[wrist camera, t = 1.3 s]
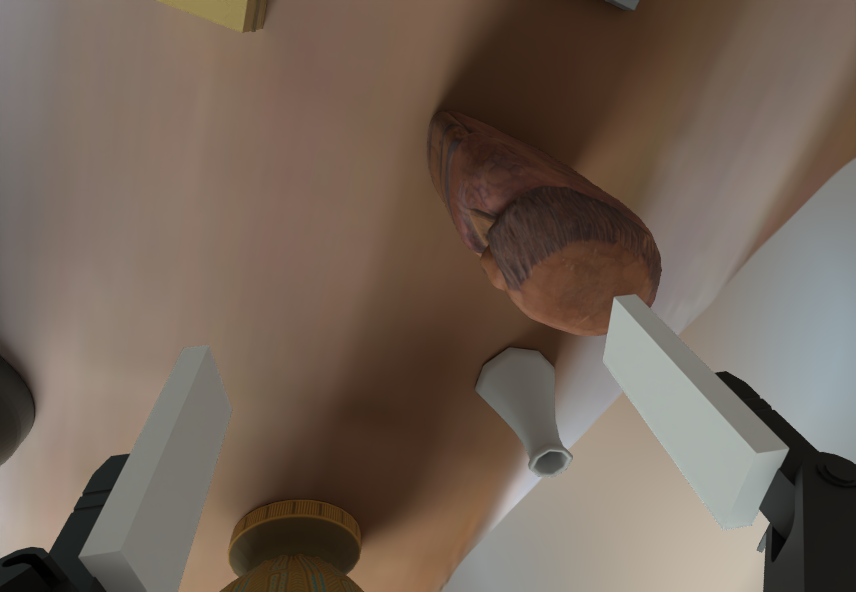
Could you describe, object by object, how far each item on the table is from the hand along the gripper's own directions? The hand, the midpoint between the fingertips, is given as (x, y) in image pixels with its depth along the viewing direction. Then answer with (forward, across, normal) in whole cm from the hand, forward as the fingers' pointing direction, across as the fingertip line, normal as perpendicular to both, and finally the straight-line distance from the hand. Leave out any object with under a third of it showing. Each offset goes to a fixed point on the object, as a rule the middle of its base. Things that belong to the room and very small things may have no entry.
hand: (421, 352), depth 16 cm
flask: (+21, +10, -20) cm, 31 cm away
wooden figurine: (+21, +8, -1) cm, 22 cm away
